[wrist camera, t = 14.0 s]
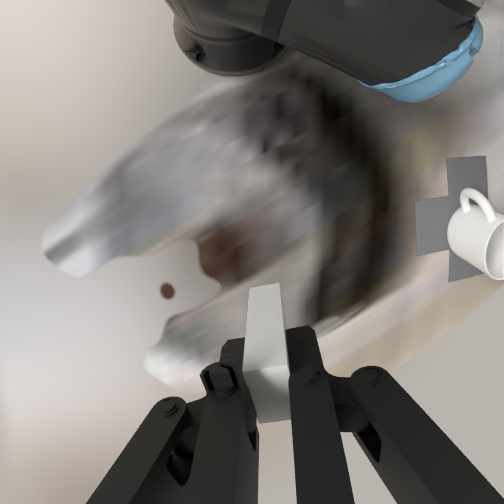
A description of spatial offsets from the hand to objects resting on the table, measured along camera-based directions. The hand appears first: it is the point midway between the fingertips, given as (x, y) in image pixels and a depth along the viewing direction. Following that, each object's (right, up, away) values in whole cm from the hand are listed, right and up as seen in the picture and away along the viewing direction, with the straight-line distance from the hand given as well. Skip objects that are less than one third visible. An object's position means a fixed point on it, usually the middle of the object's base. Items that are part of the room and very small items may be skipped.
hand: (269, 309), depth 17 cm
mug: (+31, +8, +24) cm, 40 cm away
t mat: (+29, +7, +25) cm, 39 cm away
